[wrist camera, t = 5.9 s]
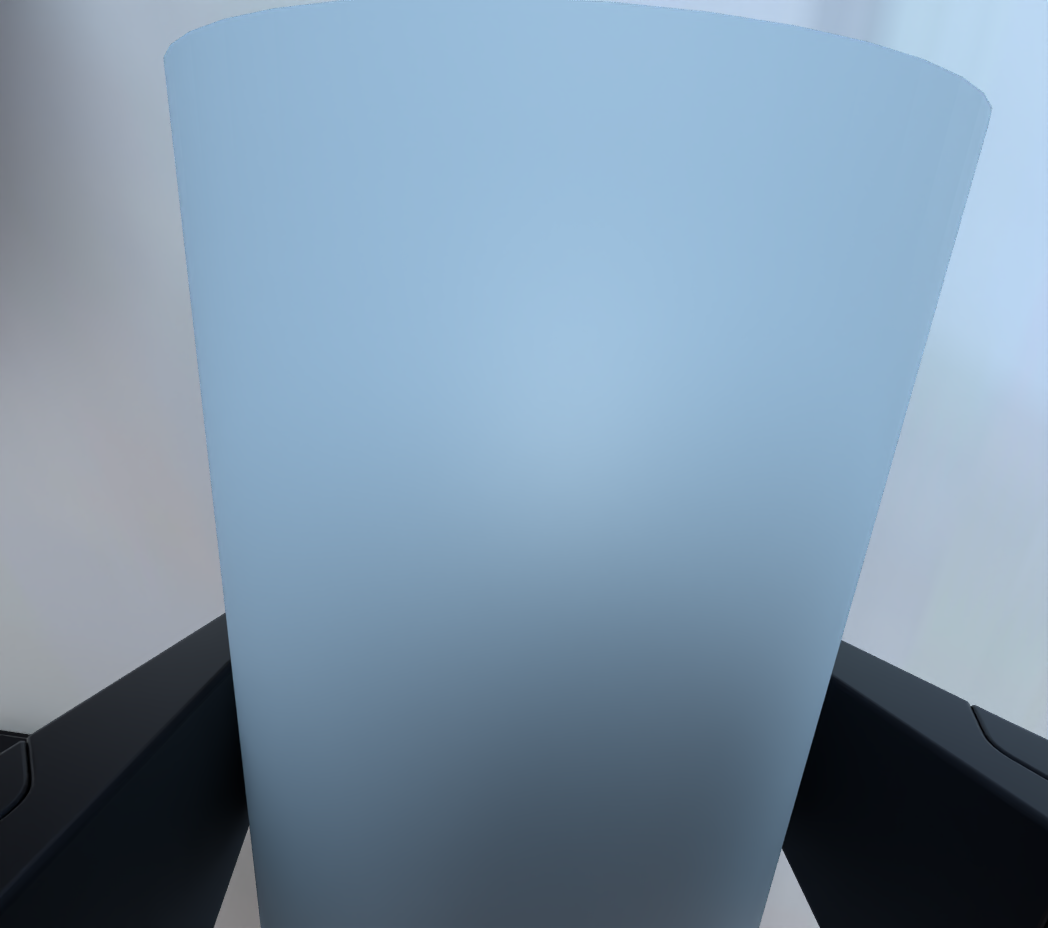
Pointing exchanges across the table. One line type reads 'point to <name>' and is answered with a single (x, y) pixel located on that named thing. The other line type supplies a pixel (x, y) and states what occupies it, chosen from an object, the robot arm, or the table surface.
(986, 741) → the robot arm
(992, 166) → the table surface
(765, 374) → the roll
